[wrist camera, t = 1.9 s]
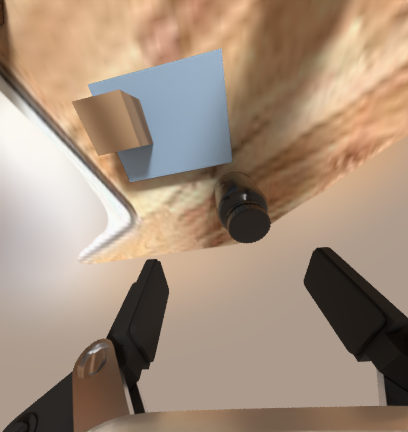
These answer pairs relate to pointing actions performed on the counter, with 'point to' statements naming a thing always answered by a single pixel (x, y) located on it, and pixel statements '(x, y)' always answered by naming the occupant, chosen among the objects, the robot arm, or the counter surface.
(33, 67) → the counter surface
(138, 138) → the block
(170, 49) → the counter surface
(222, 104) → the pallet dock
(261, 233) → the supplement bottle
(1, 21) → the beer bottle
